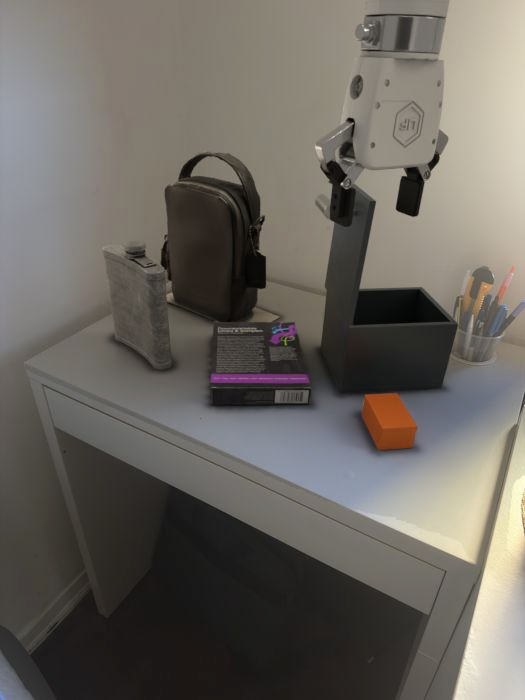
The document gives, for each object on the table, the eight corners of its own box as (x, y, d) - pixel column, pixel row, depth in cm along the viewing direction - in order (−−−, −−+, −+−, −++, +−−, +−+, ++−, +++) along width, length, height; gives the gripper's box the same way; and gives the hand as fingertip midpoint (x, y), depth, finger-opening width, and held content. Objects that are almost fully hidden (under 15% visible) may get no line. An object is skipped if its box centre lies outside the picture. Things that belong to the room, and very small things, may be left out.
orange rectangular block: (361, 415, 68) (364, 394, 66) (392, 413, 69) (397, 392, 67) (378, 450, 62) (382, 428, 60) (412, 447, 63) (417, 426, 61)
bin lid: (346, 177, 69) (311, 175, 68) (376, 201, 58) (335, 199, 57) (329, 286, 77) (297, 286, 76) (352, 325, 66) (316, 324, 66)
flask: (131, 330, 87) (118, 228, 77) (179, 363, 78) (172, 253, 69) (112, 336, 84) (97, 233, 75) (159, 371, 76) (149, 259, 66)
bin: (409, 345, 85) (422, 286, 79) (442, 387, 74) (458, 323, 69) (320, 349, 83) (326, 289, 77) (340, 393, 72) (349, 328, 67)
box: (309, 408, 70) (294, 336, 86) (312, 387, 68) (296, 319, 84) (209, 407, 69) (213, 335, 85) (209, 387, 67) (213, 317, 83)
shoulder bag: (279, 316, 93) (287, 157, 78) (249, 335, 86) (252, 166, 72) (191, 285, 104) (183, 141, 89) (158, 299, 98) (145, 146, 83)
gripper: (354, 37, 41) (332, 238, 50) (494, 45, 49) (453, 218, 58) (304, 37, 47) (292, 218, 56) (436, 44, 54) (407, 203, 63)
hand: (374, 218), depth 57 cm, fingers open, 9 cm apart
